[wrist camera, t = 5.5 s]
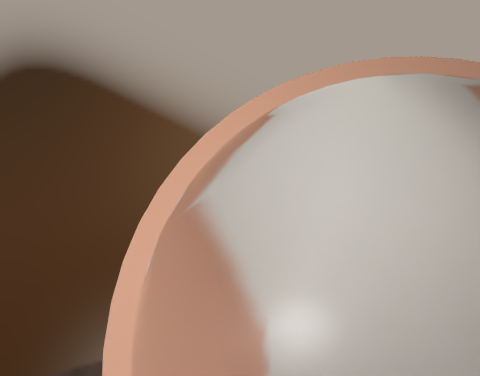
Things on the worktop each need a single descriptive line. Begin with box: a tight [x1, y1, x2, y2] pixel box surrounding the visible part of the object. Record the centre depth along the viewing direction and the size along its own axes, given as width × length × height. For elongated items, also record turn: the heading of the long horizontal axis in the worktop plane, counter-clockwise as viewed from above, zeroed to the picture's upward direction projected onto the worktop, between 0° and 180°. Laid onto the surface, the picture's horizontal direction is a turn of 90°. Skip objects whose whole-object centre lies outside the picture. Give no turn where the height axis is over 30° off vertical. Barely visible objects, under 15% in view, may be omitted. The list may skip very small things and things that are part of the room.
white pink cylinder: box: [102, 57, 480, 376], centre depth 8 cm, size 5×5×12 cm
